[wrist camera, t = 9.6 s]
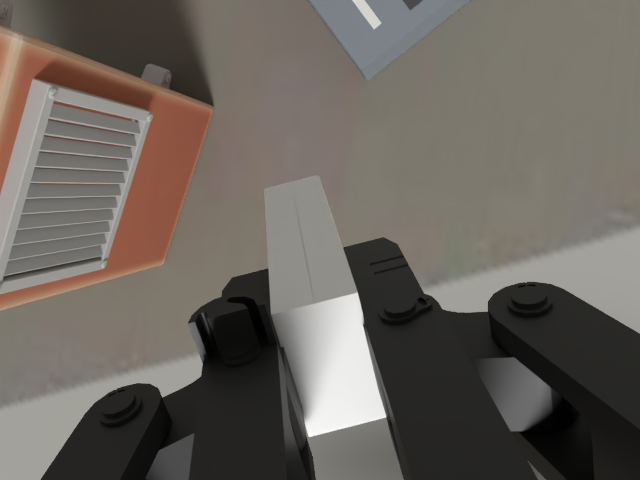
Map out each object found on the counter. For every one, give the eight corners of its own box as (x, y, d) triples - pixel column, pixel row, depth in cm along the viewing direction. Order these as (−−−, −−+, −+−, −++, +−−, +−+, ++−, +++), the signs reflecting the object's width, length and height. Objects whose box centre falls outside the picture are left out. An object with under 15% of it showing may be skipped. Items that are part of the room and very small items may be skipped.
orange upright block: (89, 252, 47) (147, 63, 45) (169, 285, 46) (232, 94, 44) (-189, 304, 26) (-105, -48, 24) (-51, 367, 25) (50, 7, 23)
